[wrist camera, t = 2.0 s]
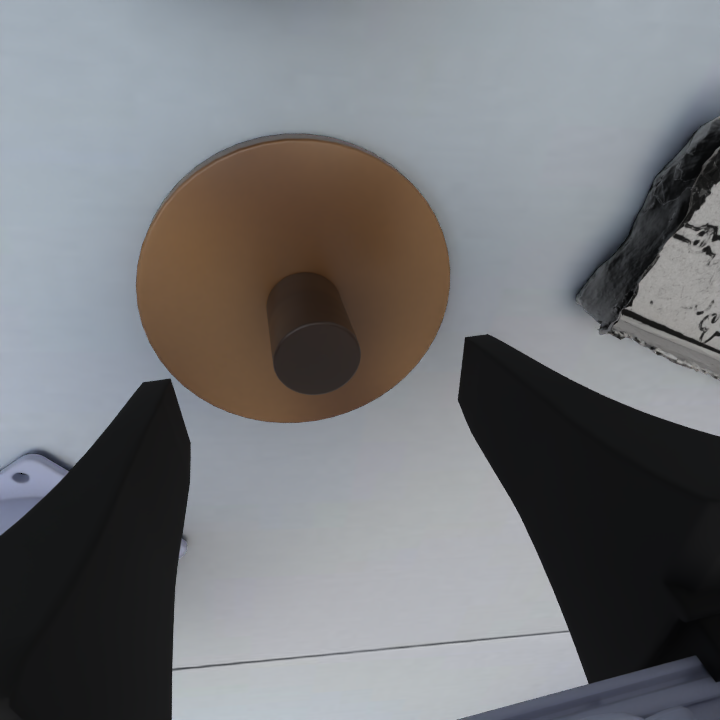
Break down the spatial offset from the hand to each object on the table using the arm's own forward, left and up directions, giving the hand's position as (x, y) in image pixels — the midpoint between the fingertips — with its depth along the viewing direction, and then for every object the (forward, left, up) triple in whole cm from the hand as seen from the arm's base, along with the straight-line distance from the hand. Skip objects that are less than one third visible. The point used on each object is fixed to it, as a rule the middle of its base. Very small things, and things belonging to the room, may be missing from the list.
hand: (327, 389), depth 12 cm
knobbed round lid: (0, 0, -5) cm, 5 cm away
